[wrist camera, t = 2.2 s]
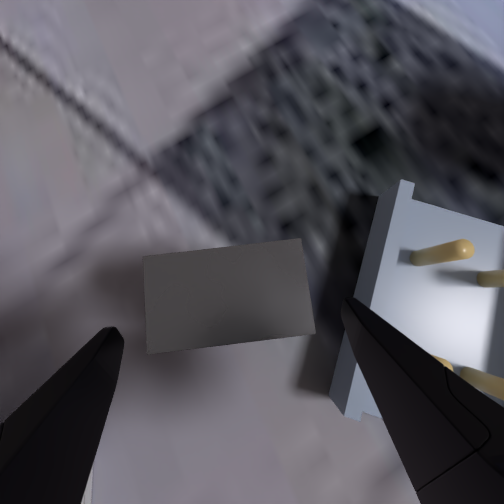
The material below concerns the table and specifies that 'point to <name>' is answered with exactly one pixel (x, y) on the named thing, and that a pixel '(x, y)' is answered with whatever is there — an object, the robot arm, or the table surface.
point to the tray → (430, 294)
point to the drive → (226, 296)
